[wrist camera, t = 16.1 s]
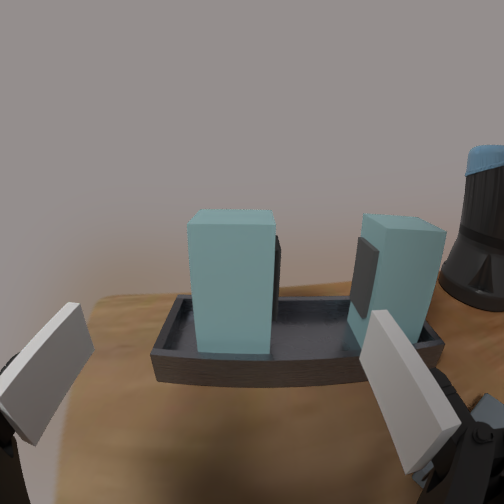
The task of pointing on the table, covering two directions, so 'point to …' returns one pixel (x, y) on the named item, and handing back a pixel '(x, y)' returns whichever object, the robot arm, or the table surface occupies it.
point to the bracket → (483, 412)
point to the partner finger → (395, 272)
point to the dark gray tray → (276, 348)
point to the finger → (234, 279)
